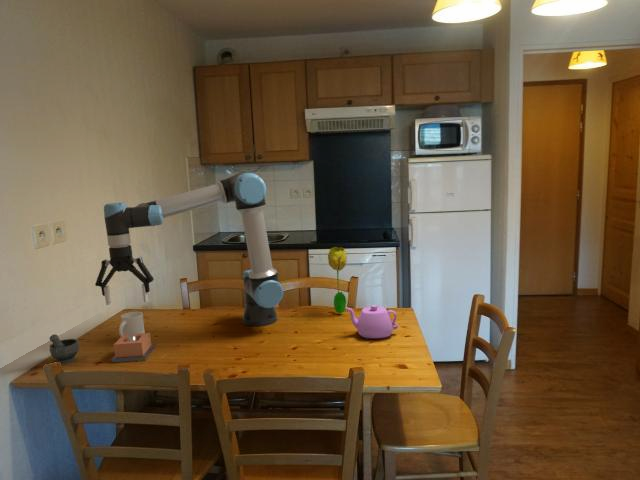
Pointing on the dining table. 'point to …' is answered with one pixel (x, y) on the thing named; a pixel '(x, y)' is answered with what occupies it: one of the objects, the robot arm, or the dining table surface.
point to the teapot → (374, 322)
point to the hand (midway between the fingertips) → (127, 302)
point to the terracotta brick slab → (132, 345)
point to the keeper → (133, 358)
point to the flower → (337, 262)
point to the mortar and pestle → (63, 349)
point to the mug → (131, 323)
